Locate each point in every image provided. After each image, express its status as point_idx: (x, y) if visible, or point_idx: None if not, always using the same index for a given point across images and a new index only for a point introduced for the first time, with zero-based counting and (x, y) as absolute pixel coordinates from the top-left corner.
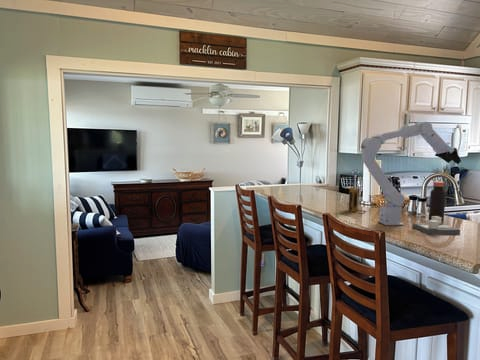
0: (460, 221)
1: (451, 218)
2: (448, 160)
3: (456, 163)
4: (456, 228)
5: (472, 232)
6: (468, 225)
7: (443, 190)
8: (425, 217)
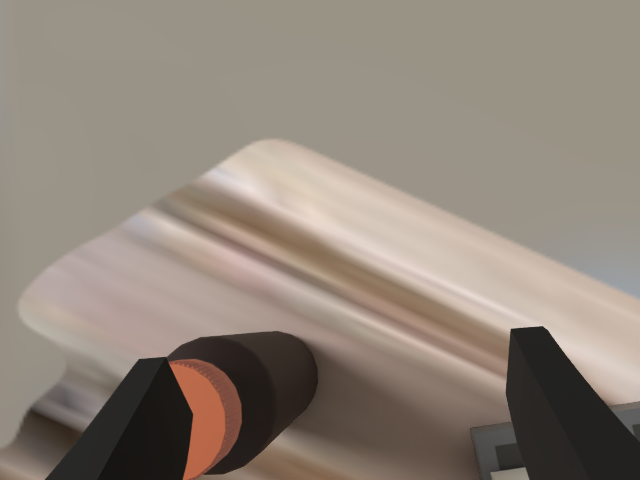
0: (257, 214)
1: (171, 230)
2: (174, 442)
3: (514, 414)
4: (635, 409)
5: (578, 289)
6: (372, 218)
7: (239, 371)
8: None
